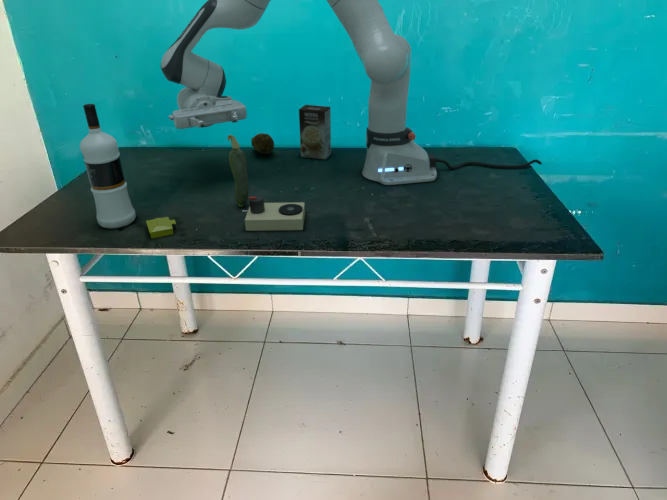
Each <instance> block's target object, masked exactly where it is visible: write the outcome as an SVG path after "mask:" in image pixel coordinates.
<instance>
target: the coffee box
mask: <svg viewBox="0 0 667 500" xmlns="http://www.w3.org/2000/svg"><path fill="white" fill-rule="evenodd" d="M331 115H332V113H331V106H327V105H325V106H324V105H313V104H304V105H303V106H301V107H300V108H299V109H298V122H299V144H300V146H299V147H300V157H301V158H309V159H318V160H327V159H328V158H329V156H331V155H332V129H331V128H332V127H331V126H332V125H331V124H332V123H331V118H332V117H331Z"/></svg>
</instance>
